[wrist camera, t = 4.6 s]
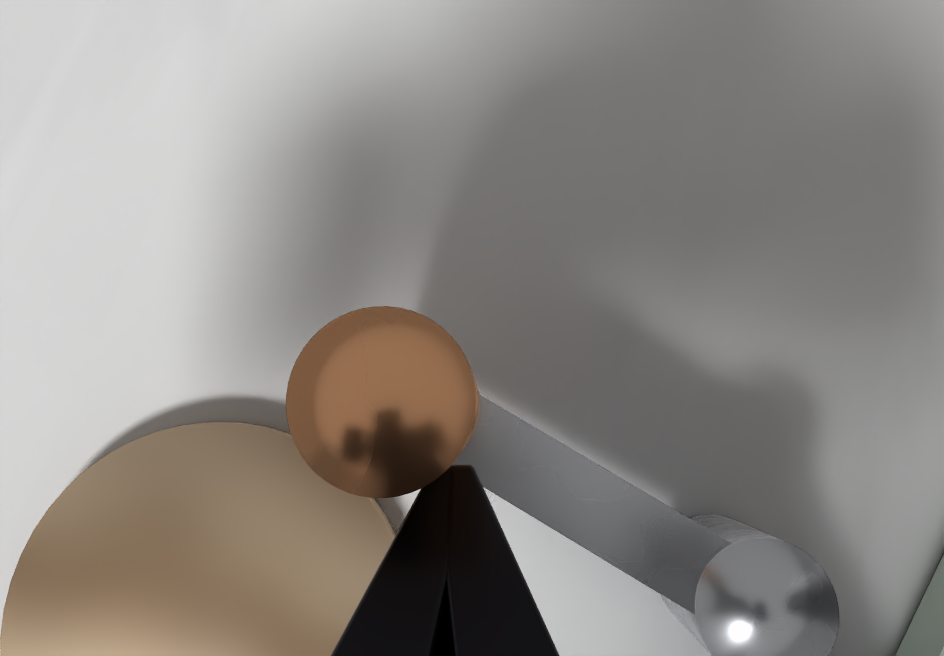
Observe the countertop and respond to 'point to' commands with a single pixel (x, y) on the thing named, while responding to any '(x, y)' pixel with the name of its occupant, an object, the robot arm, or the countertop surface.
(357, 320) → the grey rod with hub
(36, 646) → the coaster
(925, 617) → the socket frame
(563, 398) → the countertop surface
